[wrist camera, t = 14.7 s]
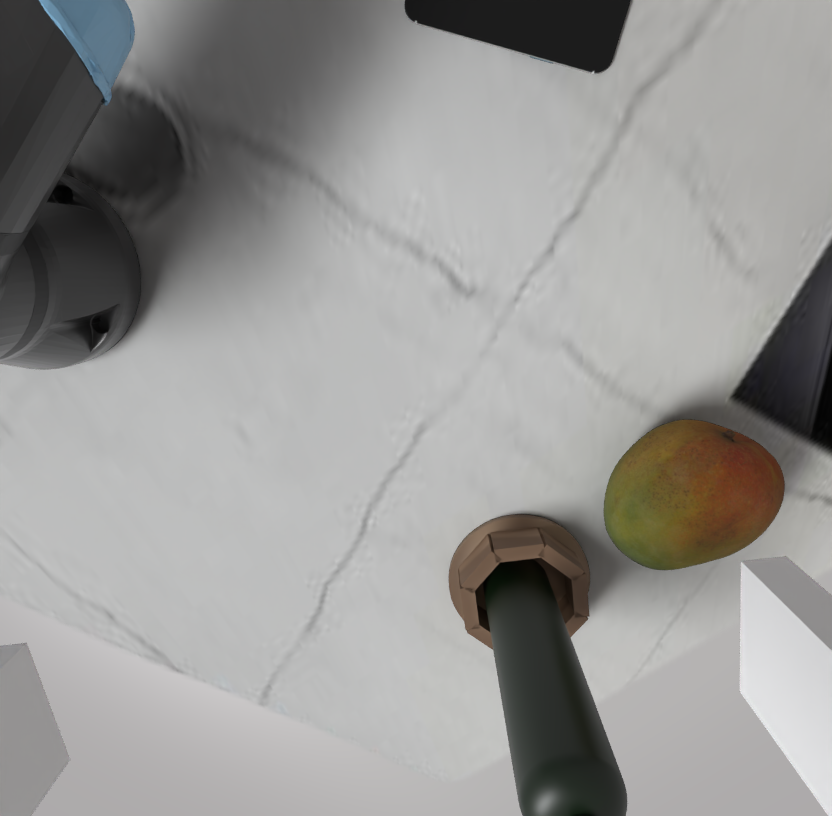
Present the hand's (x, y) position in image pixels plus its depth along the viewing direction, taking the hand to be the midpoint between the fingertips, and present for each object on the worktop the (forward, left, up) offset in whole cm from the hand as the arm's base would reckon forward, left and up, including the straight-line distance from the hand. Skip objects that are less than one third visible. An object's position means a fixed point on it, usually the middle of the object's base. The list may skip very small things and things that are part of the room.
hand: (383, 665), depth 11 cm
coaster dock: (+6, -22, -37) cm, 43 cm away
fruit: (+19, -14, -37) cm, 44 cm away
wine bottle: (+6, -22, -36) cm, 43 cm away
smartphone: (+11, +23, -37) cm, 45 cm away
